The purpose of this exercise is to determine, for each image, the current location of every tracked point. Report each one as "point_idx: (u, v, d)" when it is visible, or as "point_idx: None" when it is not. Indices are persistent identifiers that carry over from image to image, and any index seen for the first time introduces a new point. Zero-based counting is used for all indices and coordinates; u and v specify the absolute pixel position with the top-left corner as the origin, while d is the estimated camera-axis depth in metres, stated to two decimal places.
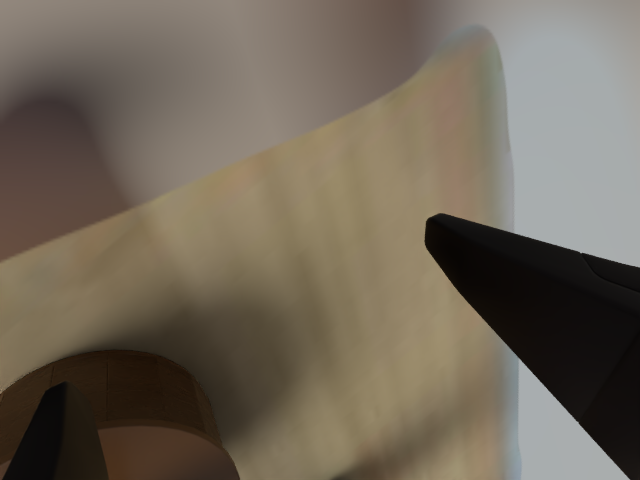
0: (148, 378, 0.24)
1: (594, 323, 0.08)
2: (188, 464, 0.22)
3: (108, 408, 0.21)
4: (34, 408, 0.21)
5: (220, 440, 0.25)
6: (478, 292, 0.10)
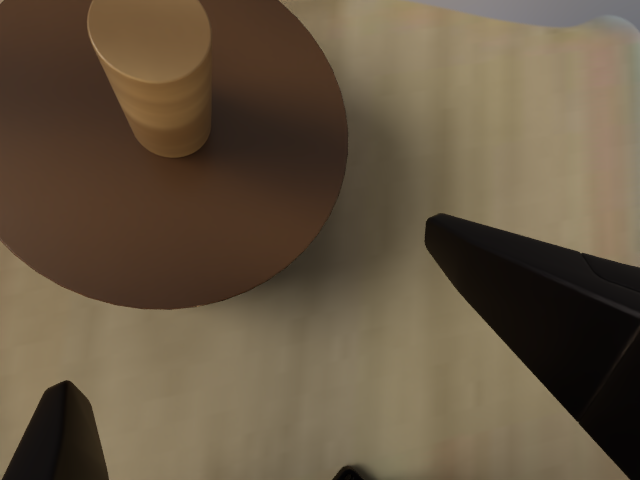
0: None
1: (594, 323, 0.08)
2: (308, 100, 0.18)
3: None
4: None
5: None
6: (478, 292, 0.10)
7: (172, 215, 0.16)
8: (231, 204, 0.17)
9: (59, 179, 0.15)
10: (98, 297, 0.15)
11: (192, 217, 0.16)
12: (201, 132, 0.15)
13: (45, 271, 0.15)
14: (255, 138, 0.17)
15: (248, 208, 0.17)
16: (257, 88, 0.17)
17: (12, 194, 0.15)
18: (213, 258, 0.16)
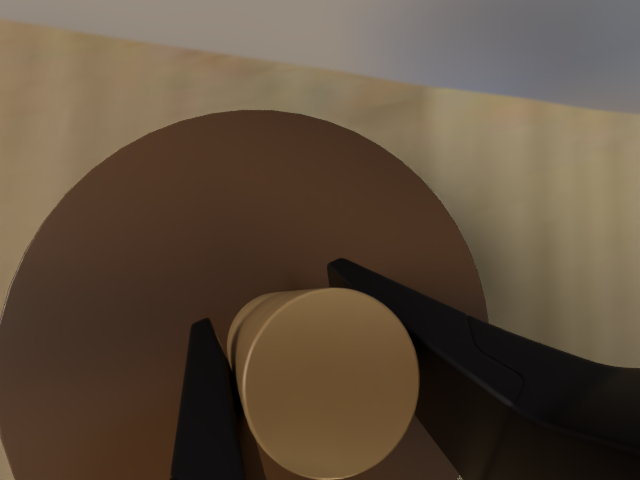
0: None
1: (469, 400, 0.07)
2: (441, 291, 0.14)
3: None
4: None
5: None
6: None
7: (283, 475, 0.12)
8: None
9: (138, 446, 0.11)
10: None
11: None
12: None
13: None
14: None
15: None
16: None
17: (77, 478, 0.11)
18: None
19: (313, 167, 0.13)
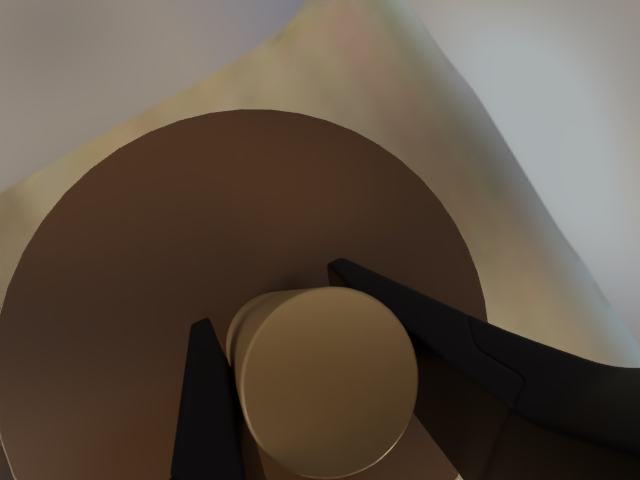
0: None
1: (469, 400, 0.07)
2: (441, 290, 0.14)
3: None
4: None
5: None
6: None
7: (283, 475, 0.12)
8: None
9: (138, 446, 0.11)
10: None
11: None
12: None
13: None
14: None
15: None
16: None
17: (76, 478, 0.11)
18: None
19: (312, 166, 0.13)
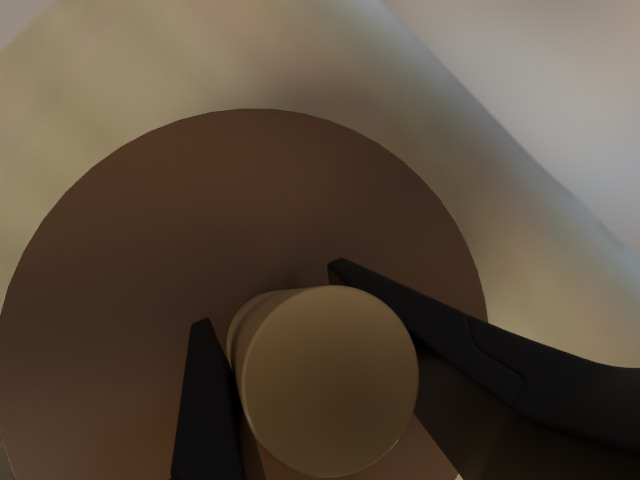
0: None
1: (470, 401, 0.07)
2: (441, 289, 0.14)
3: None
4: None
5: None
6: None
7: (283, 474, 0.12)
8: None
9: (138, 445, 0.11)
10: None
11: None
12: None
13: None
14: None
15: None
16: None
17: (76, 477, 0.11)
18: None
19: (313, 165, 0.13)
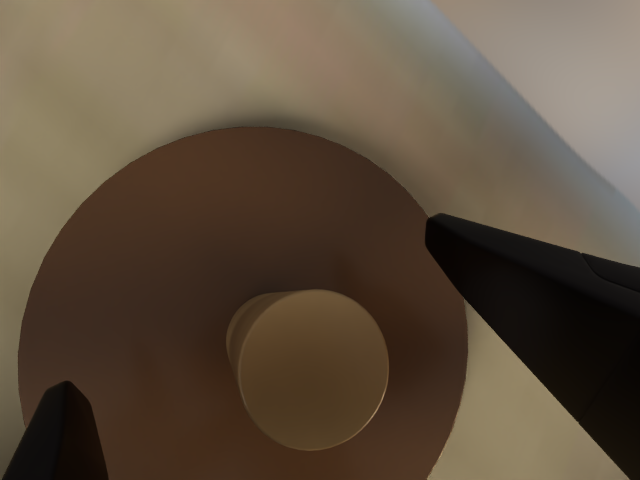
0: None
1: (594, 323, 0.08)
2: (423, 291, 0.15)
3: None
4: None
5: None
6: (478, 292, 0.10)
7: (277, 459, 0.13)
8: None
9: (146, 432, 0.12)
10: None
11: (299, 458, 0.13)
12: None
13: None
14: None
15: (361, 437, 0.14)
16: (366, 284, 0.15)
17: None
18: None
19: (305, 178, 0.15)
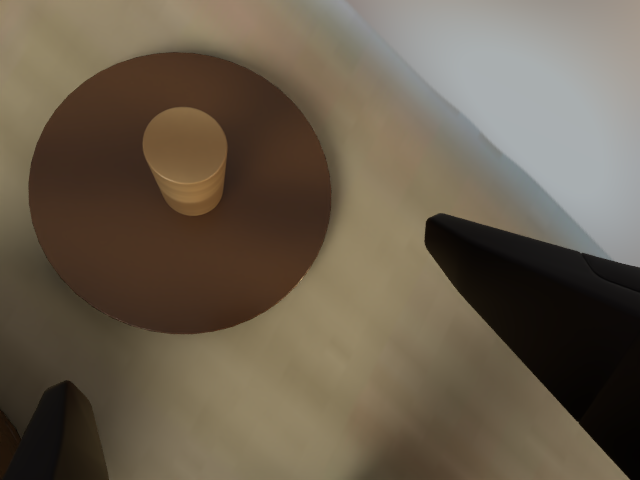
0: None
1: (594, 323, 0.08)
2: (299, 165, 0.23)
3: None
4: None
5: None
6: (478, 292, 0.10)
7: (194, 260, 0.21)
8: (239, 251, 0.21)
9: (108, 235, 0.20)
10: (138, 325, 0.20)
11: (209, 262, 0.21)
12: (216, 199, 0.20)
13: (98, 306, 0.19)
14: (257, 198, 0.22)
15: (252, 253, 0.21)
16: (259, 158, 0.22)
17: (74, 248, 0.19)
18: (225, 293, 0.21)
19: (218, 87, 0.22)
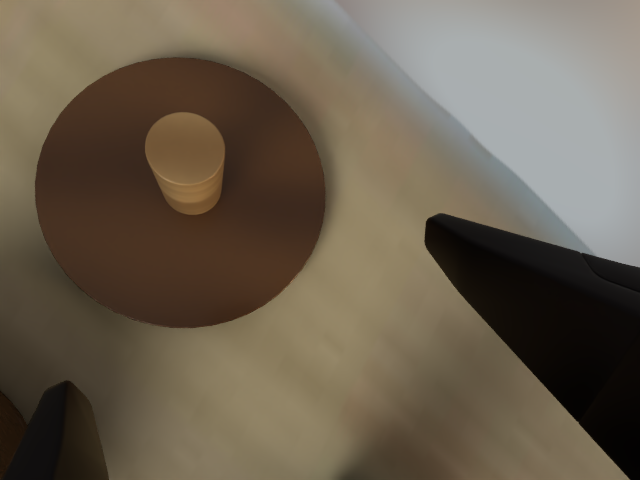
0: None
1: (594, 323, 0.08)
2: (295, 167, 0.24)
3: None
4: None
5: None
6: (478, 292, 0.10)
7: (193, 257, 0.22)
8: (236, 248, 0.22)
9: (111, 233, 0.21)
10: (140, 319, 0.21)
11: (207, 259, 0.22)
12: (215, 199, 0.21)
13: (102, 300, 0.20)
14: (254, 197, 0.23)
15: (249, 251, 0.22)
16: (256, 159, 0.23)
17: (78, 245, 0.20)
18: (223, 289, 0.22)
19: (216, 91, 0.23)
